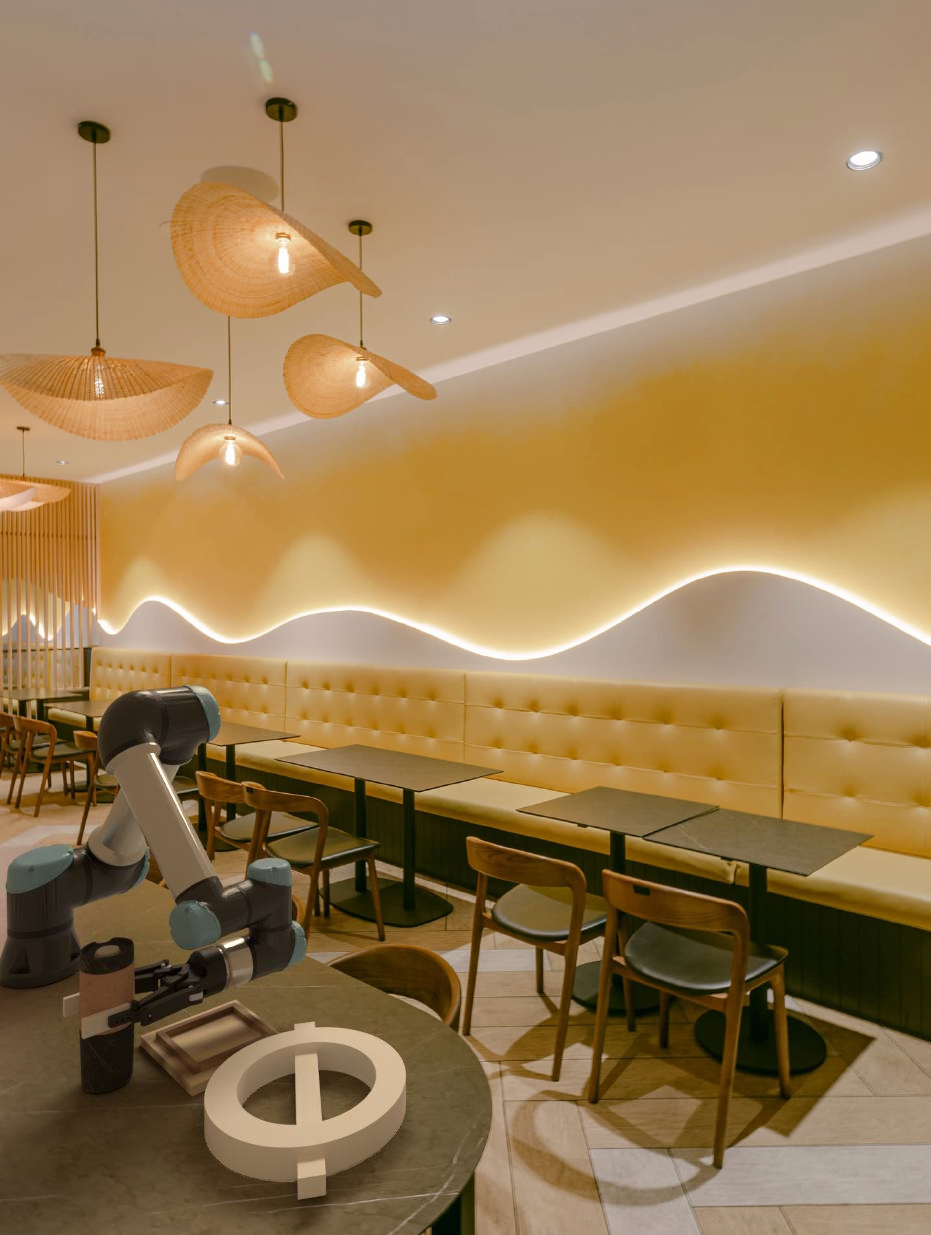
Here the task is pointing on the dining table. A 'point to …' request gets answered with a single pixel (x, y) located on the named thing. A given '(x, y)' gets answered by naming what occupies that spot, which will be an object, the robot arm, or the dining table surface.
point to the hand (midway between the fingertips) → (73, 1017)
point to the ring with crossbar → (304, 1106)
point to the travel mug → (102, 989)
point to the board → (204, 1043)
